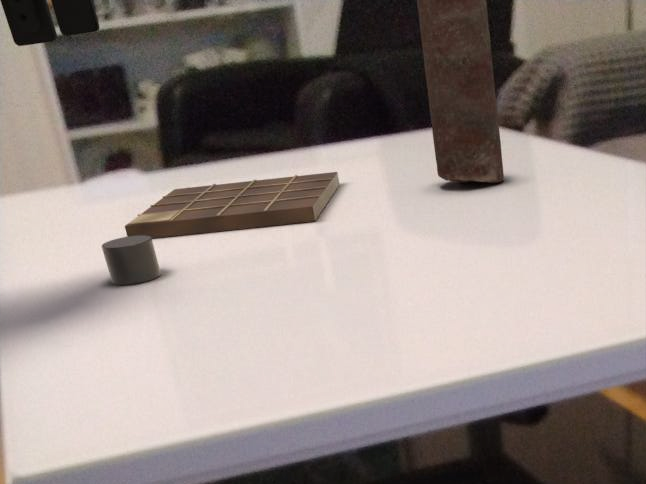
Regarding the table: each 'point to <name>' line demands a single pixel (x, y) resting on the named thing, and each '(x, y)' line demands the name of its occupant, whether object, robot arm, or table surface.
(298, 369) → the table surface
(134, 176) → the table surface
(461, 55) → the brown tall block
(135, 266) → the short grey cylinder
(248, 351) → the table surface
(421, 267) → the table surface
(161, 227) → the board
